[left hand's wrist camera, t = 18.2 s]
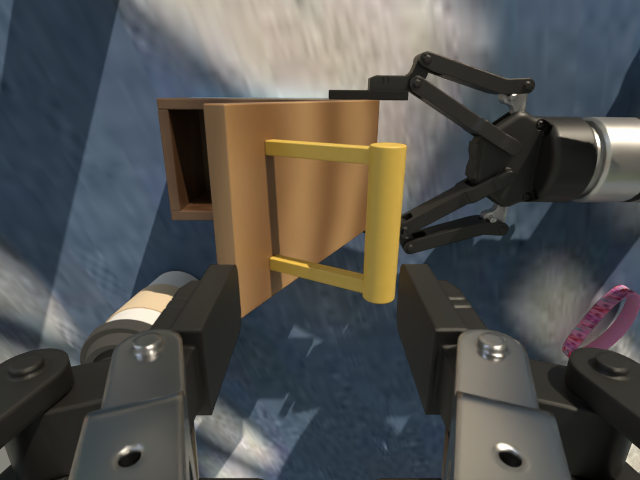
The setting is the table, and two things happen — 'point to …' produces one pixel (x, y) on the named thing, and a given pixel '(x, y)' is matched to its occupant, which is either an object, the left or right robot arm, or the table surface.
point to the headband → (598, 313)
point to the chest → (193, 152)
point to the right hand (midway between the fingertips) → (328, 159)
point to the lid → (303, 194)
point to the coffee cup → (133, 316)
